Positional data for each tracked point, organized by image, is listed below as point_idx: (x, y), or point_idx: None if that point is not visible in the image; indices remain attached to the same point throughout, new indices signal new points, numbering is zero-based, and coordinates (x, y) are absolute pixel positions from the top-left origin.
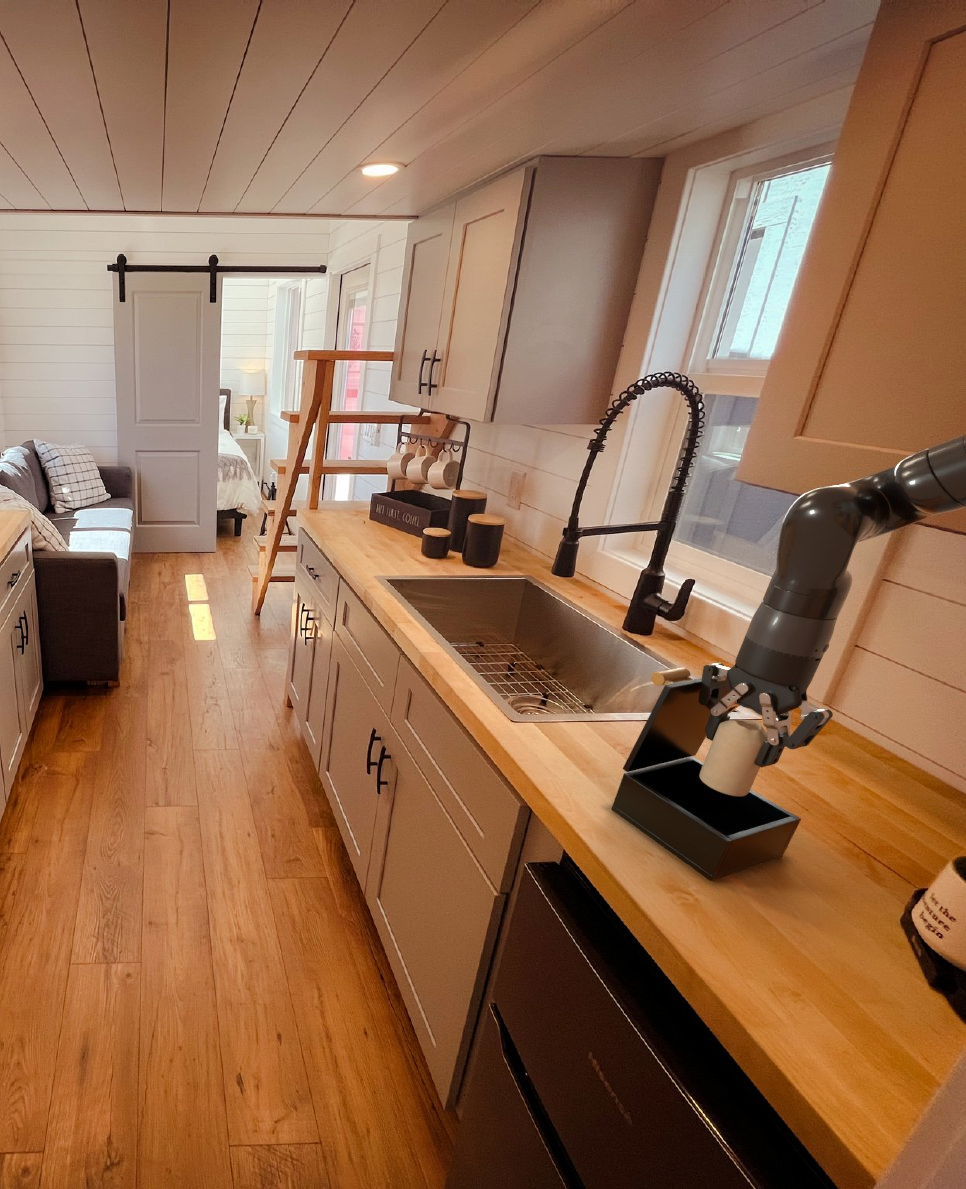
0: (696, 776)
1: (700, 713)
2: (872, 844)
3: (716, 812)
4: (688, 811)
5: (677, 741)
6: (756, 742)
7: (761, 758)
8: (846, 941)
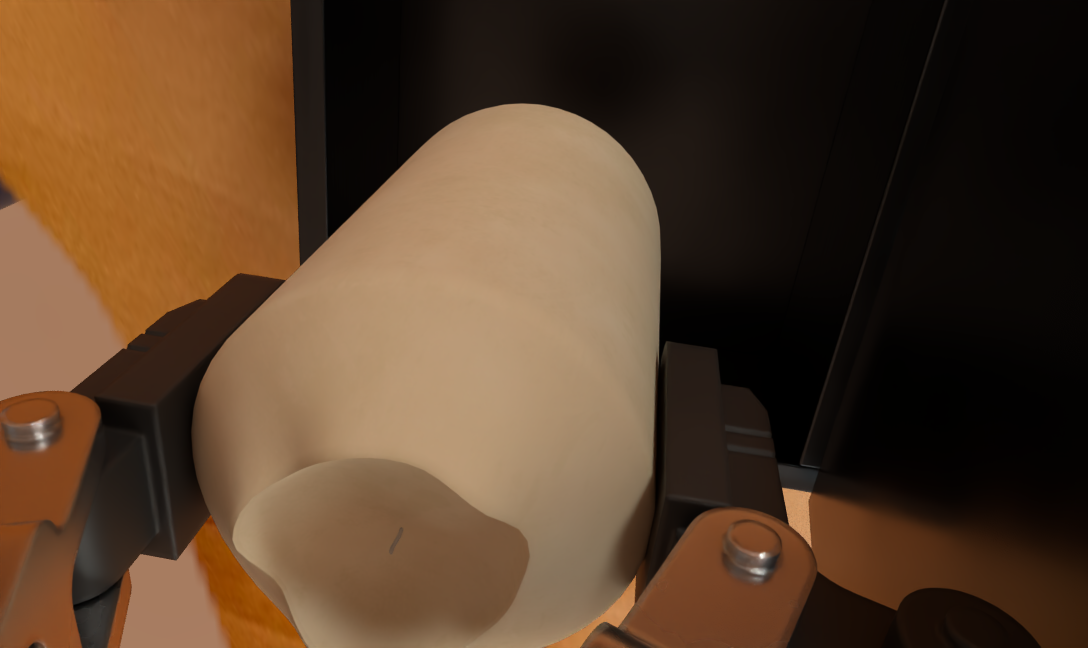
0: None
1: None
2: None
3: None
4: (683, 237)
5: (906, 372)
6: (220, 365)
7: (216, 302)
8: (35, 18)
